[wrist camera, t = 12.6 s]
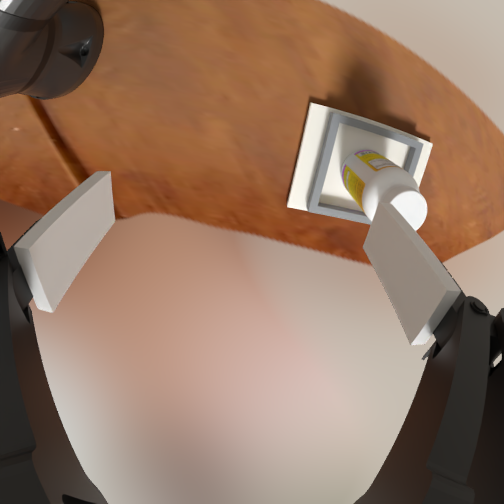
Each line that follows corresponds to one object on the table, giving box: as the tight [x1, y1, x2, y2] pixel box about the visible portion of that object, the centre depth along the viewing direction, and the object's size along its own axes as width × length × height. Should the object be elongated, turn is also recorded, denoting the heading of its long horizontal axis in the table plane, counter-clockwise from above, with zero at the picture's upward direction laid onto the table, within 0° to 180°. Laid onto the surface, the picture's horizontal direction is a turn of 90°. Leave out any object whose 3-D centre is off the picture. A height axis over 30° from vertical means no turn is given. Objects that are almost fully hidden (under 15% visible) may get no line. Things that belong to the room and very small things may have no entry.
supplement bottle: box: [341, 149, 427, 231], centre depth 29 cm, size 7×7×13 cm
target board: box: [287, 103, 433, 225], centre depth 34 cm, size 18×14×2 cm
